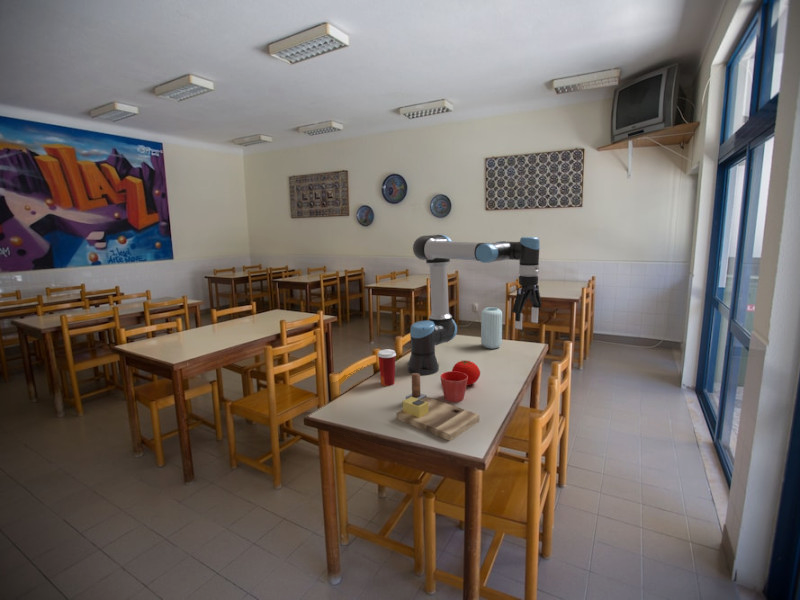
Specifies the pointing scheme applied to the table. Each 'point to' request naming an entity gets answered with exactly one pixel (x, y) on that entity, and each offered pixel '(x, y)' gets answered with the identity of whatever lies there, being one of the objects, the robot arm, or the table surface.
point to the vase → (491, 327)
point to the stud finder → (415, 407)
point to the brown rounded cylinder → (415, 385)
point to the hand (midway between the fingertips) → (526, 325)
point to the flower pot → (454, 385)
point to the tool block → (418, 397)
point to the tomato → (468, 370)
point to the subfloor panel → (441, 419)
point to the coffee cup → (387, 366)
